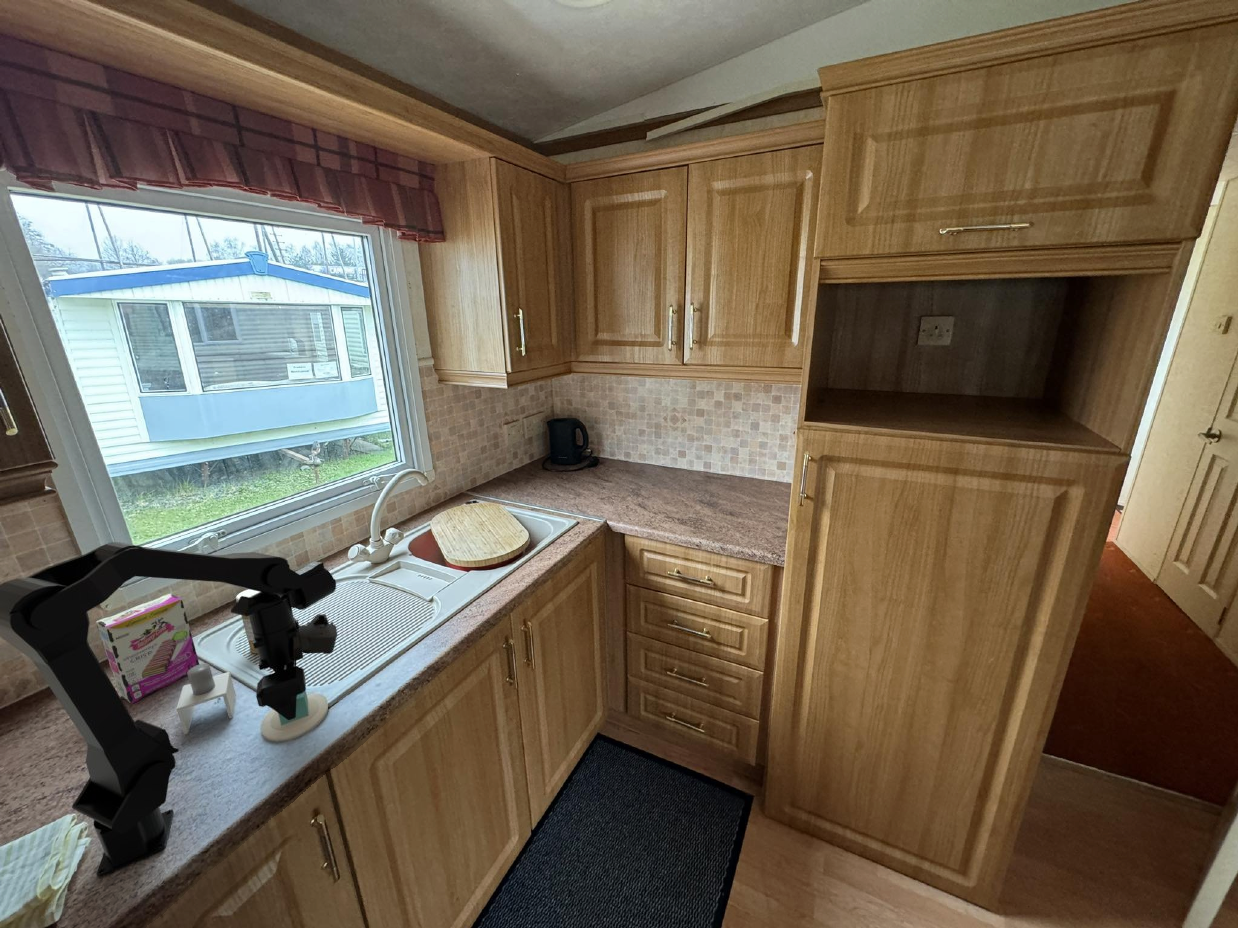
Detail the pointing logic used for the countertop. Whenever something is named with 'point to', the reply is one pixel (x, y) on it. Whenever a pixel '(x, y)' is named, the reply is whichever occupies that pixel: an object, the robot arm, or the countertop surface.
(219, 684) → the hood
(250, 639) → the sprinkles bottle
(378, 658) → the countertop surface
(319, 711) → the saucer
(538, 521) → the countertop surface
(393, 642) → the countertop surface
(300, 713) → the block
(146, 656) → the candy bar box
